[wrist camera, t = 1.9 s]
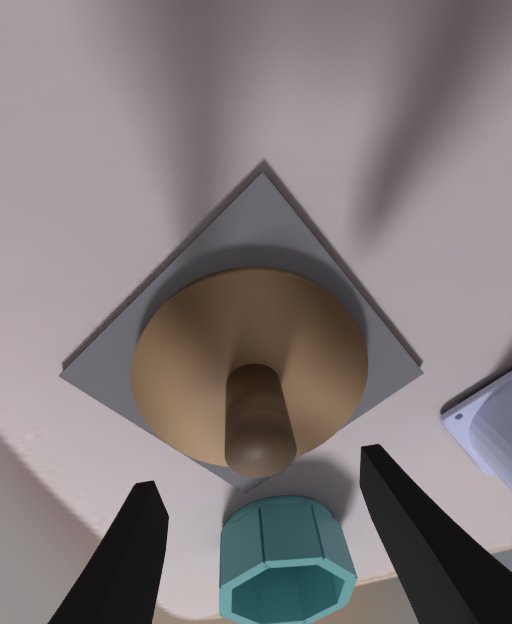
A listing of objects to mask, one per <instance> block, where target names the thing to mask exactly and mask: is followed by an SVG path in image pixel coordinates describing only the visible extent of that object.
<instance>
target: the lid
mask: <svg viewBox="0 0 512 624" xmlns="http://www.w3.org/2000/svg"><path fill="white" fill-rule="evenodd" d="M367 376H368V354H367V347H366V344H365V341H364V338H363V335H362V333H361V331H360V329H359V327H358V325H357V323H356V321H355V320H354V319H353V317H352V316H351V314H350V313H349V312H348V311H347V309H346V308H345V307H344V306H343V305H342V304H341V303H340V302H339V301H338V300H337V299H336V298H335V297H334V296H333V295H332V294H331V293H330V292H328V291H327V290H326V289H324V288H323V287H322V286H320V285H319V284H317V283H315V282H313V281H311V280H310V279H308V278H306V277H303V276H301V275H298V274H295V273H292V272H289V271H285V270H280V269H276V268H267V267H239V268H233V269H228V270H222V271H219V272H216V273H212V274H209V275H206V276H204V277H202V278H200V279H197V280H195V281H193V282H191V283H189V284H188V285H186V286H184V287H183V288H181V289H180V290H178V291H177V292H176V293H174V294H173V295H172V296H171V297H170V298H168V299H167V300H166V301H165V302H164V303H163V304H162V305H161V306H160V308H159V309H158V310H157V311H156V312H155V313H154V315H153V316H152V318H151V320H150V321H149V323H148V324H147V326H146V328H145V329H144V331H143V333H142V335H141V337H140V339H139V341H138V343H137V346H136V348H135V352H134V355H133V359H132V365H131V387H132V392H133V396H134V400H135V403H136V405H137V407H138V410H139V412H140V414H141V416H142V417H143V419H144V420H145V422H146V424H147V425H148V426H149V427H150V428H151V429H152V431H153V432H154V433H155V434H156V435H157V436H158V437H159V438H160V439H162V440H163V441H164V442H165V443H167V444H168V445H169V446H171V447H172V448H174V449H175V450H177V451H179V452H181V453H183V454H184V455H186V456H189V457H191V458H194V459H196V460H199V461H202V462H206V463H209V464H214V465H219V466H226V467H230V468H231V469H232V470H233V471H234V472H236V473H237V474H240V475H242V476H245V477H250V478H263V477H269V476H272V475H275V474H278V473H280V472H281V471H283V470H285V469H286V468H287V467H288V466H289V465H290V464H291V463H292V462H293V460H294V459H295V458H296V457H298V456H301V455H303V454H305V453H307V452H309V451H311V450H313V449H315V448H316V447H318V446H319V445H321V444H323V443H324V442H325V441H327V440H328V439H329V438H331V437H332V436H333V435H334V434H335V433H336V432H337V431H338V430H339V429H341V428H342V427H343V425H344V424H345V423H346V422H347V421H348V419H349V418H350V417H351V415H352V414H353V412H354V411H355V409H356V408H357V406H358V404H359V402H360V400H361V398H362V395H363V392H364V389H365V386H366V382H367Z"/></svg>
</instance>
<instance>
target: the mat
mask: <svg viewBox="0 0 512 624" xmlns="http://www.w3.org/2000/svg"><path fill="white" fill-rule="evenodd" d="M239 267H267V268H276V269H280V270H285V271H289V272H292V273H295V274H298V275H301V276H303V277H306V278H308V279H310V280H311V281H313V282H315V283H317V284H319V285H320V286H322V287H323V288H324V289H326V290H327V291H328V292H330V293H331V294H332V295H333V296H334V297H335V298H336V299H337V300H338V301H339V302H340V303H341V304H342V305H343V306H344V307H345V308H346V309H347V311H348V312H349V313H350V314H351V316H352V317H353V319H354V320H355V321H356V323H357V325H358V327H359V329H360V331H361V333H362V335H363V338H364V341H365V344H366V347H367V354H368V376H367V382H366V386H365V389H364V392H363V395H362V398H361V400H360V402H359V404H358V406H357V408H356V409H355V411H354V412H353V414H352V415H351V417H350V418H349V419H348V421H347V422H346V423H345V424H344V425H343V427H345V426H346V425H348V424H349V423H351V422H352V421H354V420H355V419H357V418H358V417H360V416H361V415H362V414H364V413H365V412H367V411H368V410H370V409H371V408H373V407H374V406H376V405H377V404H379V403H380V402H382V401H383V400H385V399H386V398H388V397H389V396H391V395H392V394H394V393H395V392H397V391H398V390H400V389H401V388H403V387H404V386H406V385H407V384H409V383H410V382H411V381H413V380H414V379H416V378H417V377H419V376H420V375H422V374H423V371H422V370H421V369H420V368H419V366H418V365H417V364H416V363H415V361H414V360H413V359H412V358H411V356H410V355H409V354H408V353H407V351H406V350H405V349H404V348H403V346H402V345H401V344H400V343H399V341H398V340H397V339H396V338H395V336H394V335H393V334H392V333H391V331H390V330H389V329H388V328H387V326H386V325H385V324H384V323H383V321H382V320H381V319H380V318H379V316H378V315H377V314H376V313H375V311H374V310H373V309H372V308H371V306H370V305H369V304H368V303H367V301H366V300H365V299H364V298H363V296H362V295H361V294H360V293H359V291H358V290H357V289H356V288H355V286H354V285H353V284H352V283H351V281H350V280H349V279H348V278H347V276H346V275H345V274H344V273H343V271H342V270H341V269H340V268H339V266H338V265H337V264H336V263H335V261H334V260H333V259H332V258H331V256H330V255H329V254H328V253H327V251H326V250H325V249H324V248H323V246H322V245H321V244H320V243H319V241H318V240H317V239H316V238H315V236H314V235H313V234H312V233H311V231H310V230H309V229H308V228H307V226H306V225H305V224H304V223H303V221H302V220H301V219H300V218H299V216H298V215H297V214H296V213H295V211H294V210H293V209H292V208H291V206H290V205H289V204H288V203H287V201H286V200H285V199H284V198H283V196H282V195H281V194H280V193H279V191H278V190H277V189H276V188H275V186H274V185H273V184H272V183H271V181H270V180H269V179H268V178H267V176H266V175H265V174H264V173H263V172H262V173H261V174H260V175H259V176H258V177H257V178H256V179H255V180H254V181H253V182H252V183H251V184H250V185H249V186H248V187H247V188H246V189H245V190H244V191H243V192H242V193H240V194H239V195H238V196H237V197H236V198H235V199H234V200H233V201H232V202H231V203H230V204H229V205H228V206H227V207H226V208H225V209H224V210H223V211H222V212H221V213H220V214H219V215H218V216H217V217H216V218H215V219H214V220H213V221H212V222H211V223H210V224H209V225H208V226H207V227H206V228H205V229H204V230H203V231H202V232H201V233H200V234H199V235H198V236H197V237H196V238H195V239H194V240H193V241H192V242H191V243H190V244H189V245H188V246H187V247H186V248H185V249H184V250H183V251H182V252H181V253H180V254H179V255H178V256H177V257H176V258H175V259H174V260H173V261H172V262H171V263H170V264H169V265H168V266H167V267H166V268H165V269H164V270H163V271H162V272H161V273H160V274H159V275H158V276H157V277H156V278H155V279H154V280H153V281H152V282H151V283H150V284H149V285H148V286H147V287H146V288H145V289H144V290H143V291H142V292H141V293H140V294H139V295H138V296H137V297H136V298H135V299H134V300H133V301H132V302H131V303H130V304H129V305H128V306H127V307H126V308H125V309H124V310H123V311H122V312H121V313H120V314H119V315H118V316H117V317H116V318H115V319H114V320H113V321H112V322H111V323H110V324H109V325H108V326H107V327H106V328H105V329H104V330H103V331H102V332H101V333H100V334H99V335H98V336H97V337H96V338H95V339H94V340H93V341H92V342H91V343H90V344H89V345H88V346H87V347H86V348H85V349H84V350H83V351H82V352H81V353H80V354H79V355H78V356H77V357H76V358H75V359H74V360H73V361H72V362H71V363H70V364H69V365H68V366H67V367H66V368H65V369H64V370H63V371H62V373H61V374H60V375H59V377H61V378H62V379H64V380H66V381H67V382H69V383H70V384H72V385H74V386H75V387H77V388H78V389H80V390H81V391H83V392H85V393H86V394H88V395H89V396H91V397H93V398H94V399H96V400H97V401H99V402H101V403H102V404H104V405H105V406H107V407H109V408H110V409H112V410H113V411H115V412H117V413H118V414H120V415H121V416H123V417H125V418H126V419H128V420H129V421H131V422H133V423H134V424H136V425H137V426H139V427H141V428H142V429H144V430H145V431H147V432H149V433H150V434H152V435H153V436H155V437H156V438H158V439H160V438H159V437H158V436H157V435H156V434H155V433H154V432H153V431H152V429H151V428H150V427H149V426H148V425H147V424H146V422H145V420H144V419H143V417H142V416H141V414H140V412H139V410H138V407H137V405H136V403H135V400H134V396H133V392H132V387H131V365H132V359H133V355H134V352H135V348H136V346H137V343H138V341H139V339H140V337H141V335H142V333H143V331H144V329H145V328H146V326H147V324H148V323H149V321H150V320H151V318H152V316H153V315H154V313H155V312H156V311H157V310H158V309H159V308H160V306H161V305H162V304H163V303H164V302H165V301H166V300H167V299H168V298H170V297H171V296H172V295H173V294H174V293H176V292H177V291H178V290H180V289H181V288H183V287H184V286H186V285H188V284H189V283H191V282H193V281H195V280H197V279H200V278H202V277H204V276H206V275H209V274H212V273H216V272H219V271H222V270H228V269H233V268H239ZM343 427H342V428H343ZM342 428H341V429H342ZM339 430H340V429H339ZM339 430H338V431H339ZM160 440H161V441H163V440H162V439H160ZM163 442H164V441H163ZM164 443H165V442H164ZM166 444H167V443H166ZM180 453H181V452H180ZM182 454H183V453H182ZM185 456H186V455H185ZM301 456H302V455H301ZM187 457H188V458H190V459H192V460H193V461H195V462H196V463H198V464H200V465H201V466H203V467H204V468H206V469H208V470H209V471H211V472H212V473H214V474H216V475H217V476H219V477H220V478H222V479H224V480H225V481H227V482H228V483H230V484H231V485H233V486H235V487H236V488H238V489H239V490H241V491H243V492H244V493H247V492H248V491H250V490H251V489H253V488H254V487H256V486H257V485H259V484H260V483H262V482H263V481H265V480H266V479H268V478H269V477H270V476H269V477H263V478H250V477H245V476H242V475H240V474H237V473H236V472H234V471H233V470H232V469H231V468H230V467H226V466H219V465H214V464H209V463H206V462H202V461H199V460H196V459H194V458H191V457H189V456H187ZM299 457H300V456H298V457H296V458H295V459H294V460H296V459H297V458H299ZM294 460H293V461H294Z"/></svg>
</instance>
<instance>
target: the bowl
mask: <svg viewBox="0 0 512 624" xmlns="http://www.w3.org/2000/svg"><path fill="white" fill-rule="evenodd" d="M356 580H357V575H356V572H355V569H354V565H353V562H352V559H351V556H350V553H349V550H348V547H347V543H346V540H345V537H344V534H343V531H342V528H341V525H340V523H338V522H337V521H336V520H334V517H333V515H332V513H331V511H330V510H329V509H328V508H327V507H326V506H324V505H323V504H321V503H320V502H317V501H315V500H313V499H309V498H305V497H300V496H276V497H270V498H265V499H262V500H258V501H256V502H253V503H250V504H248V505H246V506H244V507H243V508H241V509H239V510H238V511H237V512H235V513H234V514H233V515H232V516H231V517H230V518H229V519H228V520H227V521H226V523H225V525H224V526H223V529H222V532H221V544H220V580H219V615H221V617H224V618H227V619H229V620H232V621H234V622H237V623H240V624H310V623H312V622H314V621H316V620H318V619H320V618H322V617H324V616H326V615H328V614H330V613H332V612H334V611H336V610H338V609H340V608H342V607H344V606H346V604H348V602H349V599H350V596H351V594H352V591H353V589H354V586H355V583H356Z"/></svg>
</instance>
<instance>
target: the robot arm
mask: <svg viewBox="0 0 512 624" xmlns="http://www.w3.org/2000/svg"><path fill="white" fill-rule="evenodd" d="M441 422H442V423H443V424H444V425H445V426H446V427H447V429H448V430H449V431H450V432H451V433H452V434H453V436H454V437H455V438H456V439H457V440H458V441H459V443H460V444H461V445H462V446H463V447H464V449H465V450H466V451H467V452H468V453H469V454H470V456H471V457H472V458H473V459H474V460H475V461H476V463H477V464H478V465H479V466H480V467H481V469H482V470H483V471H484V472H485V473H486V474H487V475H488V476H494V475H497V476H498V477H499V479H500V480H501V481H502V482H503V483H504V484H505V485H506V486H507V487H508V489H509V490H510V491H511V492H512V371H510V372H509V373H507V374H505V375H504V376H502V377H501V378H499V379H497V380H496V381H494V382H493V383H491V384H489V385H488V386H486V387H485V388H483V389H481V390H480V391H478V392H477V393H475V394H473V395H472V396H470V397H469V398H467V399H465V400H464V401H462V402H461V403H459V404H457V405H456V406H454V407H453V408H451V409H450V410H448V411H446V412H445V413H443V414H442V416H441ZM360 488H361V491H362V494H363V497H364V499H365V502H366V505H367V508H368V511H369V513H370V516H371V519H372V521H373V523H374V525H375V528H376V530H377V532H378V534H379V536H380V539H381V541H382V543H383V545H384V547H385V549H386V552H387V554H388V556H389V558H390V560H391V562H392V564H393V567H394V569H395V571H396V573H397V575H398V577H399V580H400V582H401V584H402V586H403V588H404V590H405V592H406V595H407V597H408V599H409V601H410V603H411V606H412V608H413V610H414V613H415V615H416V617H417V620H418V622H419V624H512V572H511V571H510V570H509V569H507V568H506V567H505V566H504V565H503V564H501V563H500V562H499V561H498V560H497V559H495V558H494V557H493V556H492V555H491V554H490V553H489V552H487V551H486V550H485V549H484V548H483V547H482V546H481V545H480V544H478V543H477V542H476V541H475V540H474V539H473V538H472V537H471V536H470V535H468V534H467V533H466V532H465V531H464V530H463V529H462V528H461V527H460V526H459V525H458V524H457V523H455V522H454V521H453V520H452V519H451V518H450V517H449V516H448V515H447V514H446V513H445V512H444V511H443V510H442V509H441V508H440V507H439V506H438V505H437V504H436V503H435V502H434V501H433V500H432V499H431V498H430V497H429V496H428V495H427V494H426V493H425V492H424V491H423V490H422V489H421V488H420V487H419V486H418V485H417V484H416V483H415V482H414V481H413V480H412V479H411V478H410V477H409V476H408V475H407V474H406V473H405V472H404V470H403V469H402V468H401V467H400V466H399V465H398V464H397V463H396V462H395V461H394V460H393V458H392V457H391V456H390V455H389V454H388V453H387V452H386V451H385V450H384V448H383V447H382V446H381V445H379V444H375V445H369V446H363V447H361V462H360ZM168 521H169V516H168V513H167V511H166V508H165V506H164V504H163V501H162V499H161V497H160V494H159V492H158V490H157V487H156V485H155V482H154V481H147V482H141V483H136V484H135V485H134V486H133V488H132V490H131V492H130V493H129V495H128V497H127V499H126V500H125V502H124V504H123V505H122V507H121V509H120V511H119V512H118V514H117V516H116V518H115V519H114V521H113V523H112V524H111V526H110V528H109V529H108V531H107V533H106V534H105V536H104V538H103V539H102V541H101V543H100V544H99V546H98V548H97V549H96V551H95V552H94V554H93V556H92V557H91V559H90V561H89V562H88V564H87V565H86V567H85V569H84V570H83V572H82V573H81V575H80V576H79V578H78V579H77V581H76V582H75V584H74V585H73V587H72V588H71V590H70V592H69V593H68V594H67V596H66V597H65V599H64V600H63V602H62V603H61V605H60V607H59V608H58V609H57V611H56V612H55V614H54V615H53V617H52V618H51V619H50V621H49V622H48V624H152V619H153V614H154V609H155V604H156V599H157V594H158V589H159V584H160V579H161V574H162V568H163V563H164V558H165V552H166V542H167V532H168Z"/></svg>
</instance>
